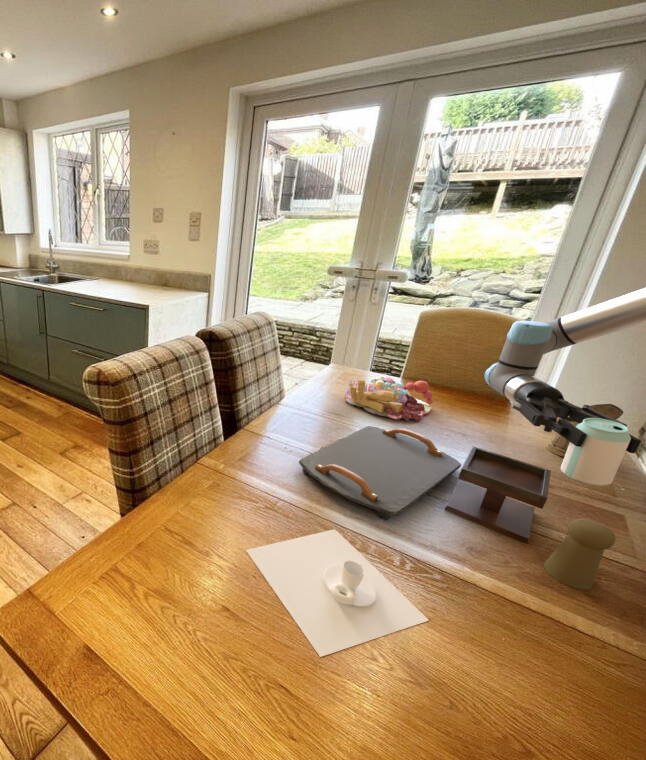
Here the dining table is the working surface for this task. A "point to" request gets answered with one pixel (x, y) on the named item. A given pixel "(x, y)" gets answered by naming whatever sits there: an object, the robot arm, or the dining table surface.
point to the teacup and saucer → (333, 591)
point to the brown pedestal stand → (499, 492)
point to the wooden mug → (559, 442)
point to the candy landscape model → (390, 398)
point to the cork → (580, 553)
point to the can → (596, 452)
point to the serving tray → (381, 468)
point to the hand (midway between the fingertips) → (608, 443)
